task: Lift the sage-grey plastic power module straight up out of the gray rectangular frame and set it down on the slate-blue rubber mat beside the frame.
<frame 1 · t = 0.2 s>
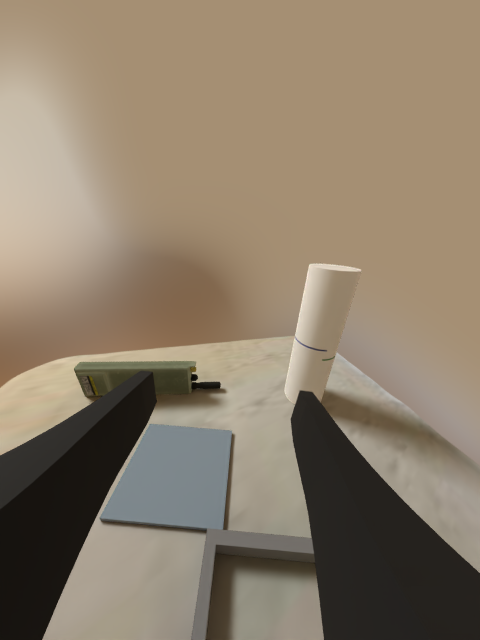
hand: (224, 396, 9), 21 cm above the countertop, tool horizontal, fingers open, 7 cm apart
rubber mat: (179, 468, 25), on the countertop
handheld radio: (156, 392, 37), on the countertop
cylindrical container: (302, 394, 38), on the countertop
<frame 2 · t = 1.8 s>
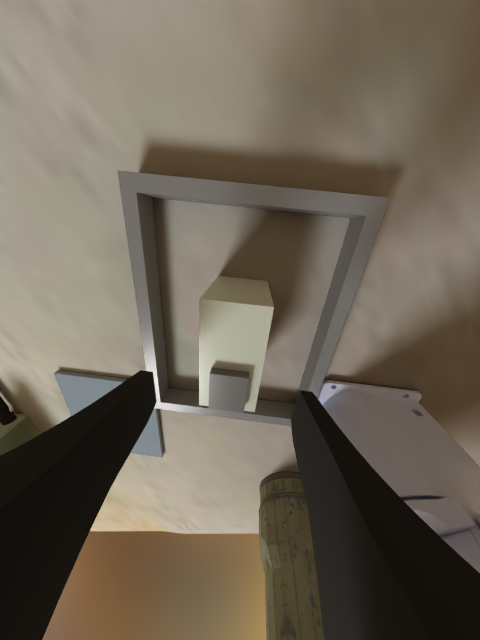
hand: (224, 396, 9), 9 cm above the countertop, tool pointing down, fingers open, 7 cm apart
rubber mat: (116, 416, 24), on the countertop
handheld radio: (46, 443, 28), on the countertop
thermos: (289, 487, 28), on the countertop
power module: (238, 321, 17), resting in gray rectangular frame
gray rectangular frame: (238, 322, 17), on the countertop
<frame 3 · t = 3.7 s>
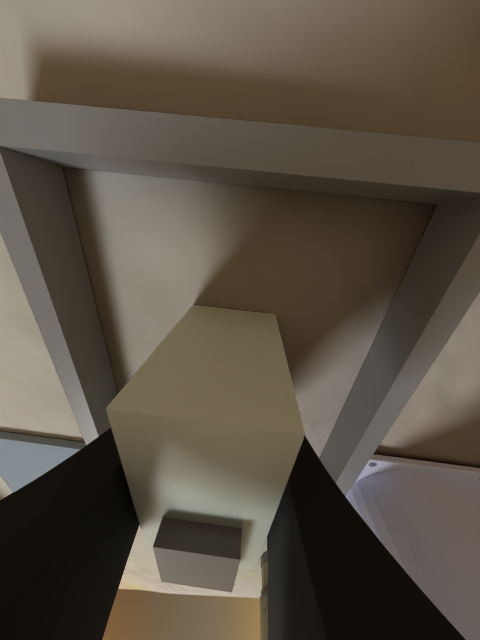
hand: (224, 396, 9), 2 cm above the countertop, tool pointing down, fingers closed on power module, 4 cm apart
rubber mat: (67, 481, 18), on the countertop
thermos: (299, 559, 22), on the countertop
power module: (228, 373, 11), resting in gray rectangular frame, touching gripper
gray rectangular frame: (228, 374, 11), on the countertop
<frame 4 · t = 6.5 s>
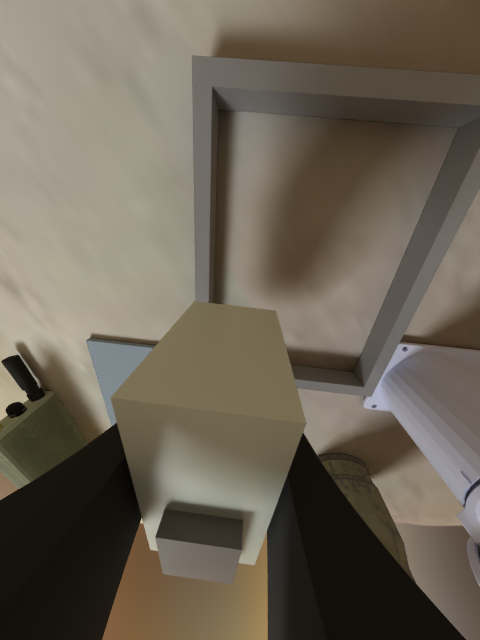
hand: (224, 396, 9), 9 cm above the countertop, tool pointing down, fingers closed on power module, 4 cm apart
rubber mat: (150, 392, 22), on the countertop
handheld radio: (74, 425, 26), on the countertop
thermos: (332, 471, 26), on the countertop
power module: (229, 370, 11), point 7 cm above the countertop, touching gripper
gray rectangular frame: (302, 272, 15), on the countertop
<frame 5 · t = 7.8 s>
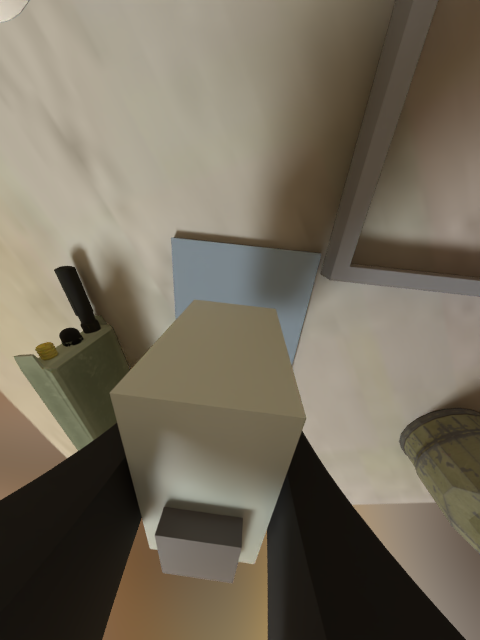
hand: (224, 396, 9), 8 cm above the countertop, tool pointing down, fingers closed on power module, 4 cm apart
rubber mat: (238, 322, 17), on the countertop
handheld radio: (127, 377, 21), on the countertop
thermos: (441, 434, 21), on the countertop
power module: (228, 369, 11), point 7 cm above the countertop, touching gripper
when the fingers open (4 cm above the countertop, at t = 9.6 s): power module drops 1 cm, resting on rubber mat.
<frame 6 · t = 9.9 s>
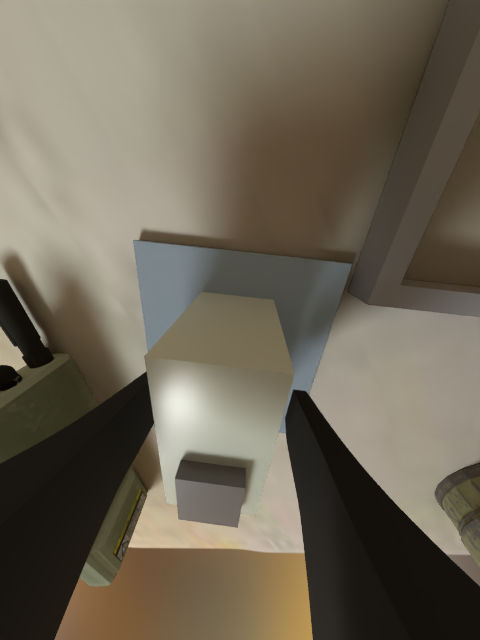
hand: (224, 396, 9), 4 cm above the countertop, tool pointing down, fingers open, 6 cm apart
rubber mat: (232, 353, 13), on the countertop
handheld radio: (98, 414, 17), on the countertop
power module: (232, 355, 12), resting on rubber mat
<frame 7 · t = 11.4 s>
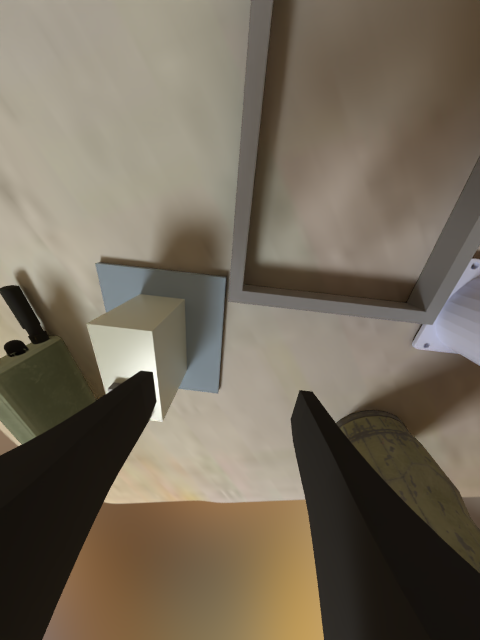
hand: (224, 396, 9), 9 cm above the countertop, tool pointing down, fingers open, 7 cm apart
rubber mat: (167, 335, 19), on the countertop
handheld radio: (83, 382, 23), on the countertop
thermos: (365, 433, 24), on the countertop
power module: (165, 335, 18), resting on rubber mat
gray rectangular frame: (363, 161, 12), on the countertop
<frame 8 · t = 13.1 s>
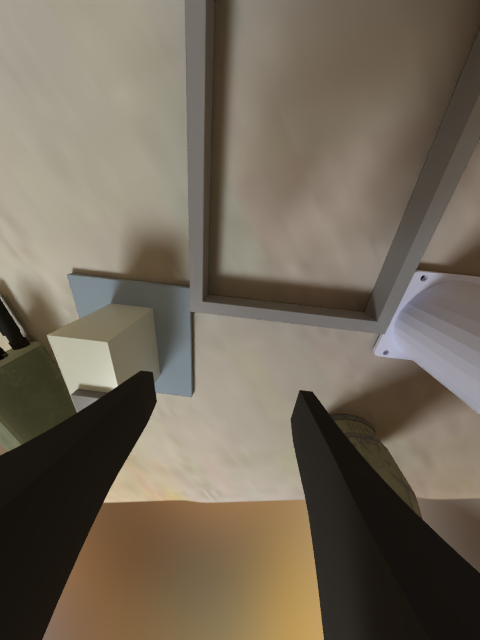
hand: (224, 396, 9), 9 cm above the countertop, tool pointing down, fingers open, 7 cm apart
rubber mat: (140, 341, 20), on the countertop
handheld radio: (65, 385, 24), on the countertop
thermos: (337, 436, 24), on the countertop
power module: (137, 342, 19), resting on rubber mat
gray rectangular frame: (310, 181, 13), on the countertop
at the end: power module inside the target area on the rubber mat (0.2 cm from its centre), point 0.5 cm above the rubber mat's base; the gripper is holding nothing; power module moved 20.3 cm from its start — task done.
